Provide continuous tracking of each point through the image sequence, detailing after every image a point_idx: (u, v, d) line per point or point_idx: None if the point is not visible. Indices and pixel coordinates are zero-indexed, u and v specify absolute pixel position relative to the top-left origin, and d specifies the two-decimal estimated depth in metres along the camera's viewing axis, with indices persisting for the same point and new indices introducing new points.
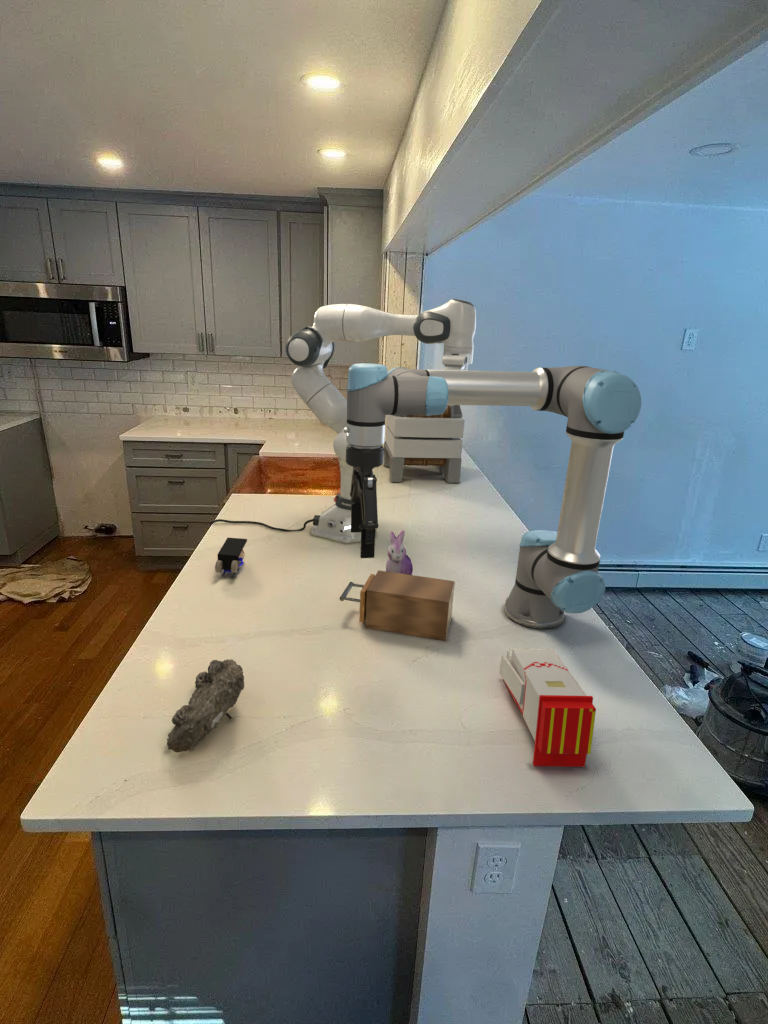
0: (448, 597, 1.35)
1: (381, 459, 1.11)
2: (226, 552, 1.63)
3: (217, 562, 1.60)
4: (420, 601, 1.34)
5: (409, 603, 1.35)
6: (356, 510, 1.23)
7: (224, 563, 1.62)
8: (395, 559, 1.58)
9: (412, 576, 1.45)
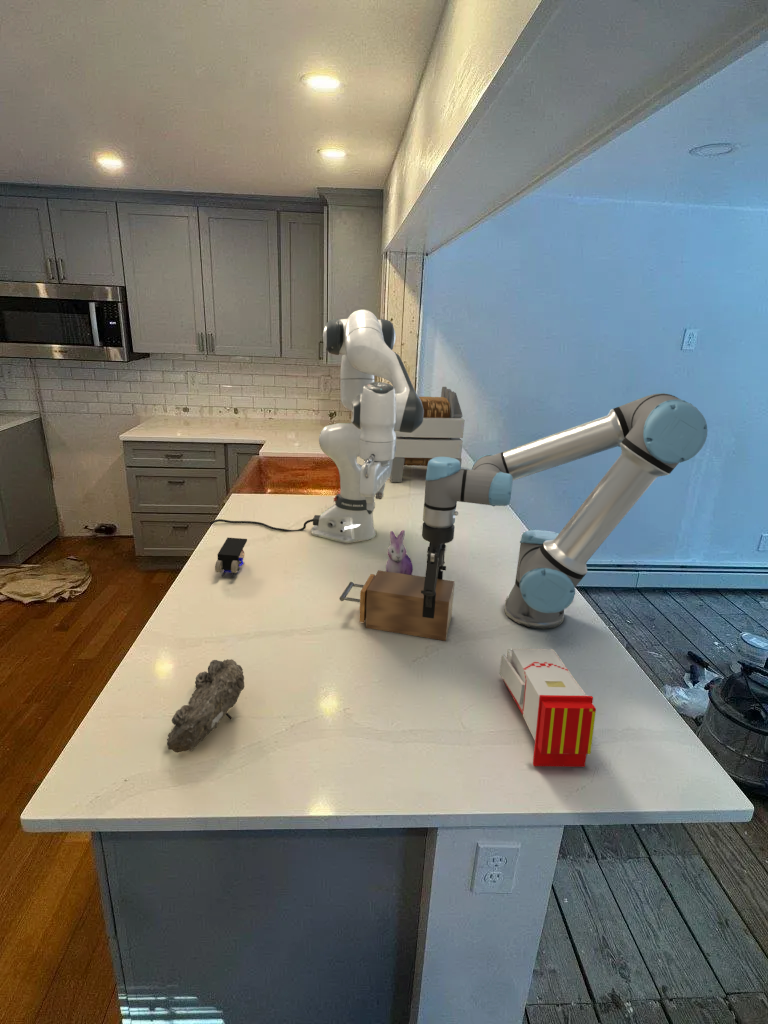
0: (448, 597, 1.35)
1: None
2: (226, 552, 1.63)
3: (217, 562, 1.60)
4: (420, 601, 1.34)
5: (409, 603, 1.35)
6: None
7: (224, 563, 1.62)
8: (395, 559, 1.58)
9: (412, 576, 1.45)
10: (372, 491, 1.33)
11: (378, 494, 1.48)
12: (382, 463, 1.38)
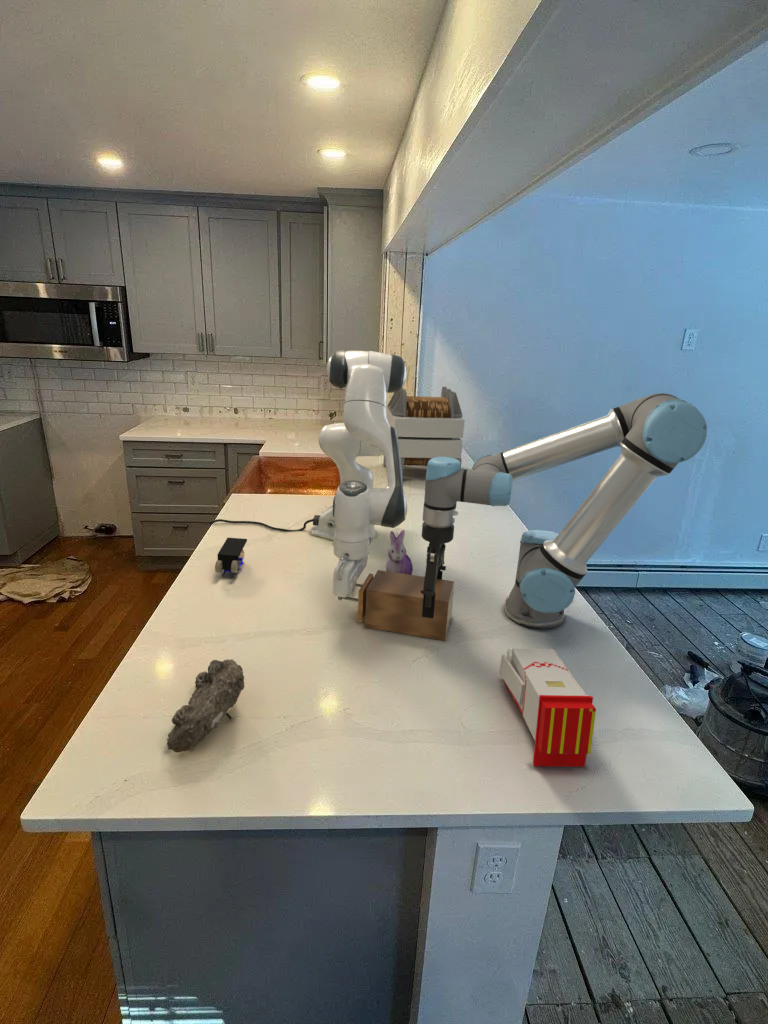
0: (448, 597, 1.35)
1: None
2: (226, 552, 1.63)
3: (217, 562, 1.60)
4: (420, 601, 1.34)
5: (409, 603, 1.35)
6: None
7: (224, 563, 1.62)
8: (395, 559, 1.58)
9: (412, 576, 1.45)
10: (345, 592, 1.34)
11: None
12: (356, 561, 1.39)
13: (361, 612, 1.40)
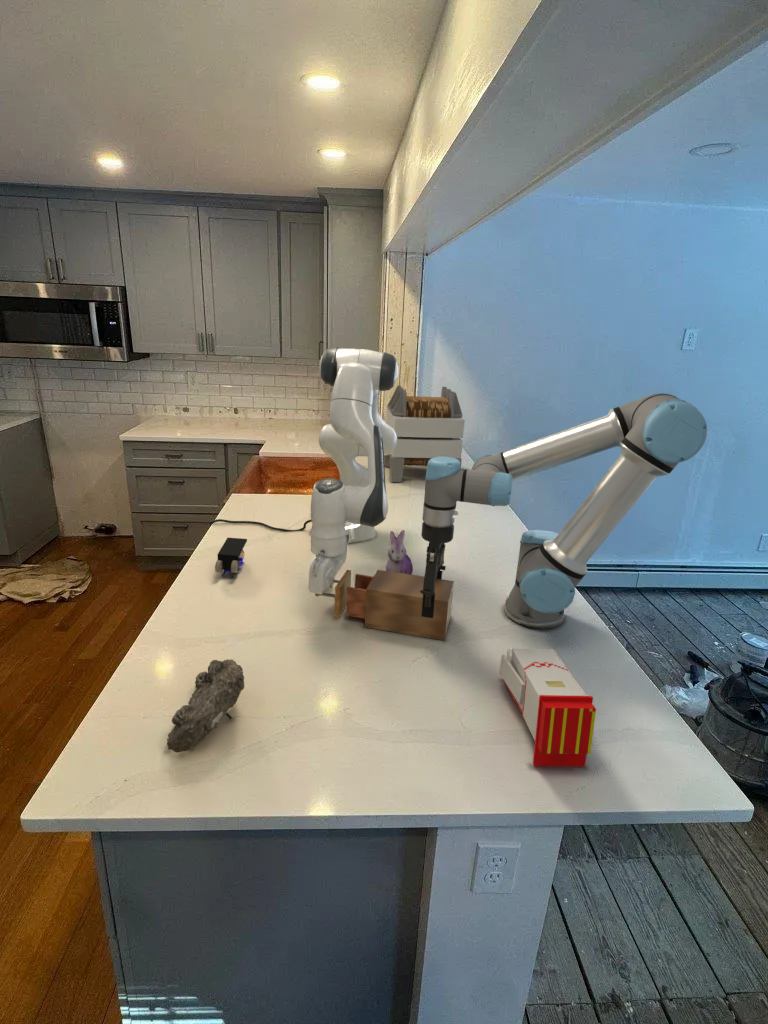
0: (447, 597, 1.35)
1: None
2: (226, 552, 1.63)
3: (217, 562, 1.60)
4: (420, 600, 1.35)
5: (408, 602, 1.35)
6: None
7: (224, 563, 1.62)
8: (395, 559, 1.58)
9: (411, 575, 1.45)
10: (321, 589, 1.35)
11: None
12: (333, 557, 1.40)
13: (338, 608, 1.41)
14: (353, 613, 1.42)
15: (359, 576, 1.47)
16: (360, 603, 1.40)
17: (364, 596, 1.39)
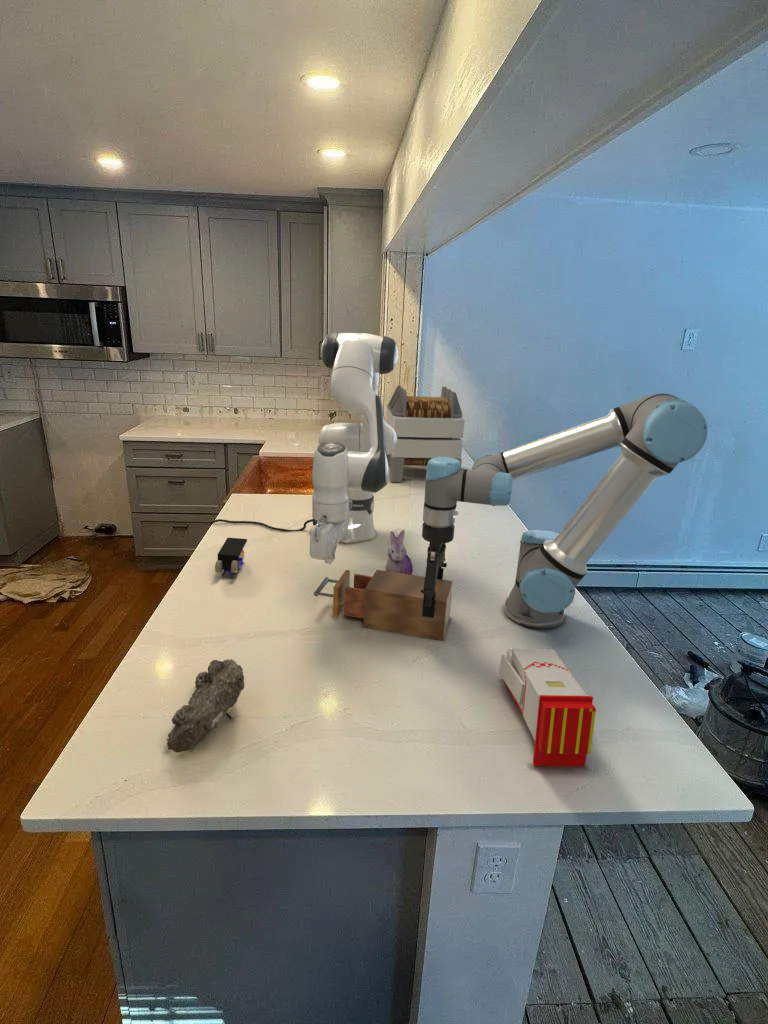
0: (446, 597, 1.35)
1: None
2: (226, 552, 1.63)
3: (217, 562, 1.60)
4: (418, 600, 1.35)
5: (407, 602, 1.36)
6: None
7: (224, 563, 1.62)
8: (395, 559, 1.58)
9: (410, 576, 1.45)
10: (322, 554, 1.32)
11: None
12: (335, 524, 1.37)
13: (336, 608, 1.42)
14: (351, 613, 1.42)
15: (358, 576, 1.47)
16: (358, 603, 1.41)
17: (362, 596, 1.40)
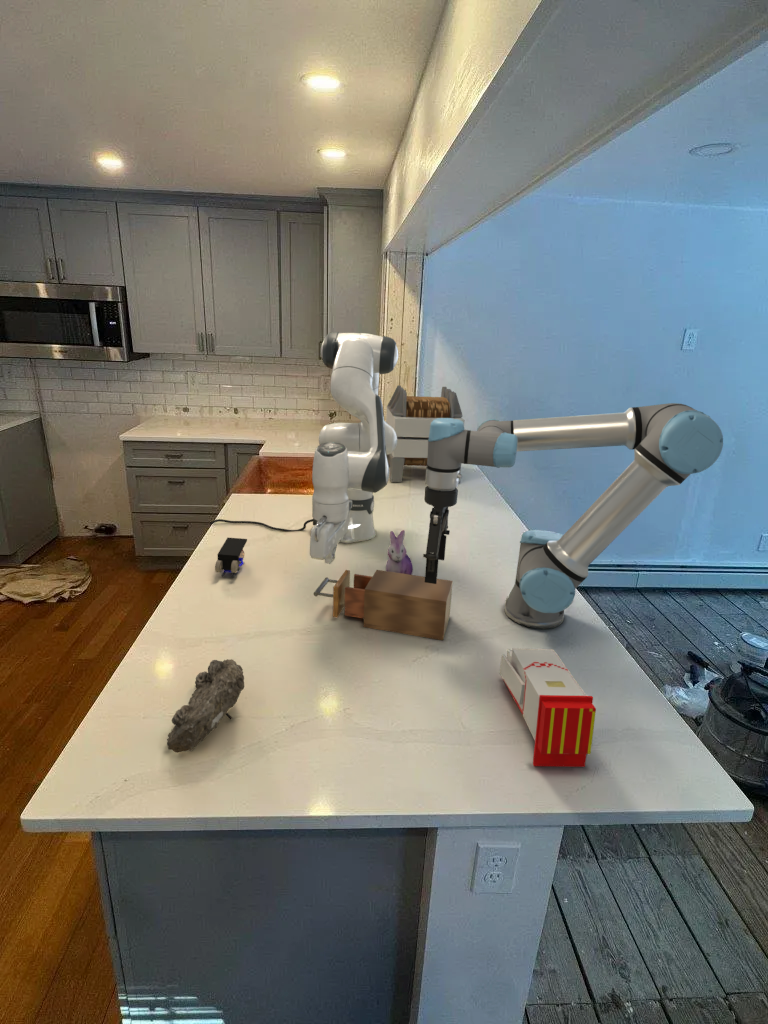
0: (446, 597, 1.35)
1: None
2: (226, 552, 1.63)
3: (217, 562, 1.60)
4: (418, 600, 1.35)
5: (407, 602, 1.36)
6: None
7: (224, 563, 1.62)
8: (395, 559, 1.58)
9: (410, 576, 1.45)
10: (322, 554, 1.32)
11: None
12: (335, 524, 1.37)
13: (336, 608, 1.42)
14: (351, 613, 1.42)
15: (358, 576, 1.47)
16: (358, 603, 1.41)
17: (362, 596, 1.40)
